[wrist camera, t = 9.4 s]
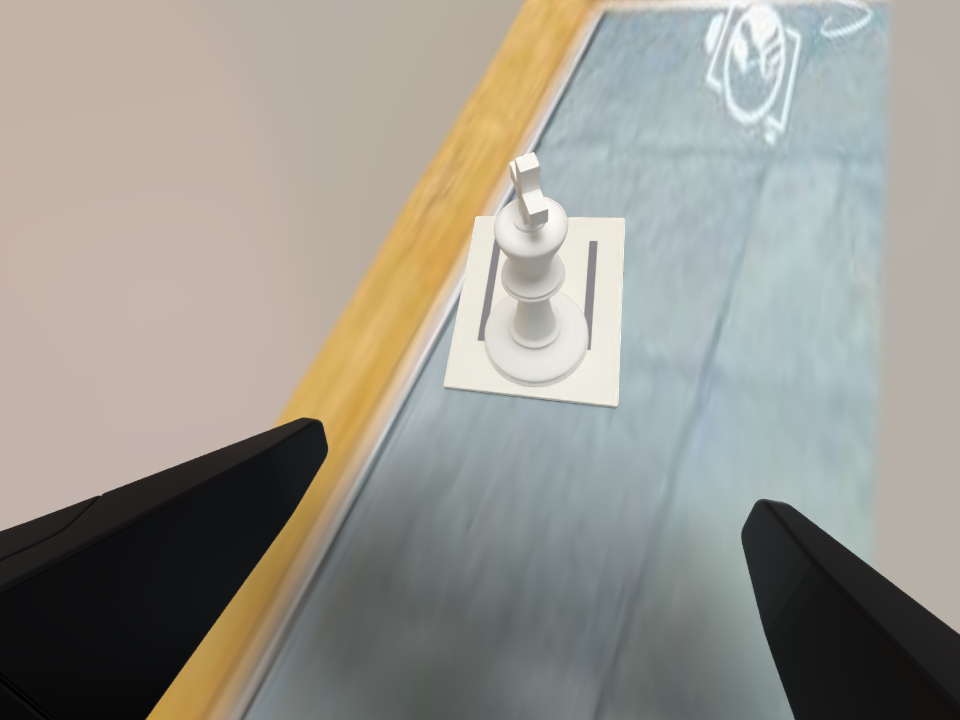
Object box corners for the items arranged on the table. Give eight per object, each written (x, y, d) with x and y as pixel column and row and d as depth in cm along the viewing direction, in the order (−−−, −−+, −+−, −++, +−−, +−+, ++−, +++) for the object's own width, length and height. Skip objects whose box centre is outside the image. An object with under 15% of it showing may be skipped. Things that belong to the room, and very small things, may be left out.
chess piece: (568, 280, 18) (597, 56, 8) (604, 369, 16) (691, 212, 7) (474, 309, 18) (402, 124, 9) (499, 399, 16) (443, 289, 7)
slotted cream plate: (616, 407, 16) (618, 405, 15) (445, 388, 17) (443, 385, 17) (623, 223, 19) (625, 217, 18) (477, 221, 20) (475, 215, 20)
